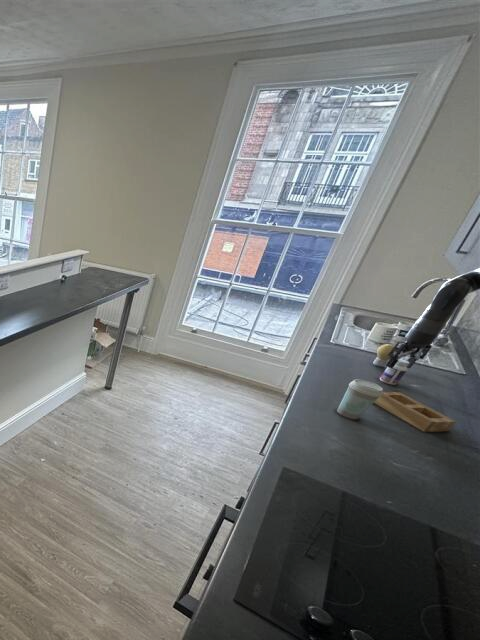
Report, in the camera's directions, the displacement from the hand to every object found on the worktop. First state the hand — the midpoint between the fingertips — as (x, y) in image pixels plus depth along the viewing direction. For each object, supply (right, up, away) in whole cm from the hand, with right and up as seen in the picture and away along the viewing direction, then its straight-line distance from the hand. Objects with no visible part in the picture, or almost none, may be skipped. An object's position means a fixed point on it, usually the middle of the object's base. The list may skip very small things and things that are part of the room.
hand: (397, 367), depth 159 cm
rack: (-17, -18, -19) cm, 31 cm away
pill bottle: (0, -6, +4) cm, 7 cm away
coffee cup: (-41, -17, -22) cm, 50 cm away
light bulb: (+10, +1, +17) cm, 20 cm away
